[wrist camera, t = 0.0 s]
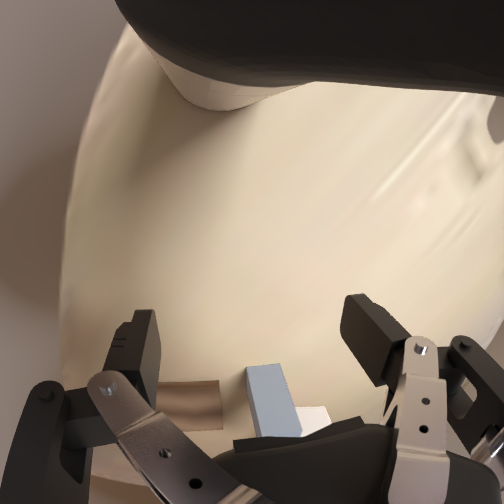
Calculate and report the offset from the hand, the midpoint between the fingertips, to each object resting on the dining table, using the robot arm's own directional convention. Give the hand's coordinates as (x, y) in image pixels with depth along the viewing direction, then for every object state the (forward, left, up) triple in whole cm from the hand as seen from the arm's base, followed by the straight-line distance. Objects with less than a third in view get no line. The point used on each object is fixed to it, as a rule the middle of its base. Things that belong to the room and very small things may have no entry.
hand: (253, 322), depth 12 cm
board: (+30, -7, -17) cm, 35 cm away
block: (+24, +5, -17) cm, 30 cm away
